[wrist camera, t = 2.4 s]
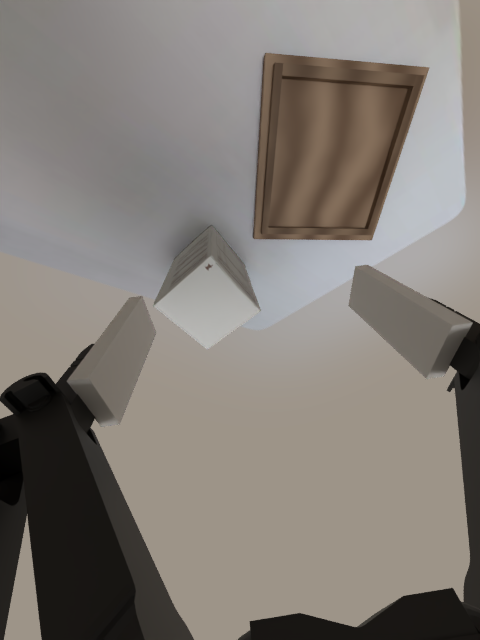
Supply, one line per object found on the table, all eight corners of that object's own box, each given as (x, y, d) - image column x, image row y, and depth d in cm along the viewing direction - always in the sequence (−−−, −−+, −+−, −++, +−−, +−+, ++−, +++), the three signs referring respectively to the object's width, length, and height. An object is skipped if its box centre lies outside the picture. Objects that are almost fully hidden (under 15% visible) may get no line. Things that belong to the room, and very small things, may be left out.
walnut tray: (253, 237, 38) (255, 240, 36) (263, 57, 27) (267, 48, 25) (367, 238, 40) (375, 241, 38) (421, 71, 29) (435, 64, 27)
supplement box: (172, 259, 39) (147, 305, 25) (211, 223, 36) (208, 251, 22) (209, 296, 44) (207, 352, 29) (246, 266, 41) (263, 312, 27)
